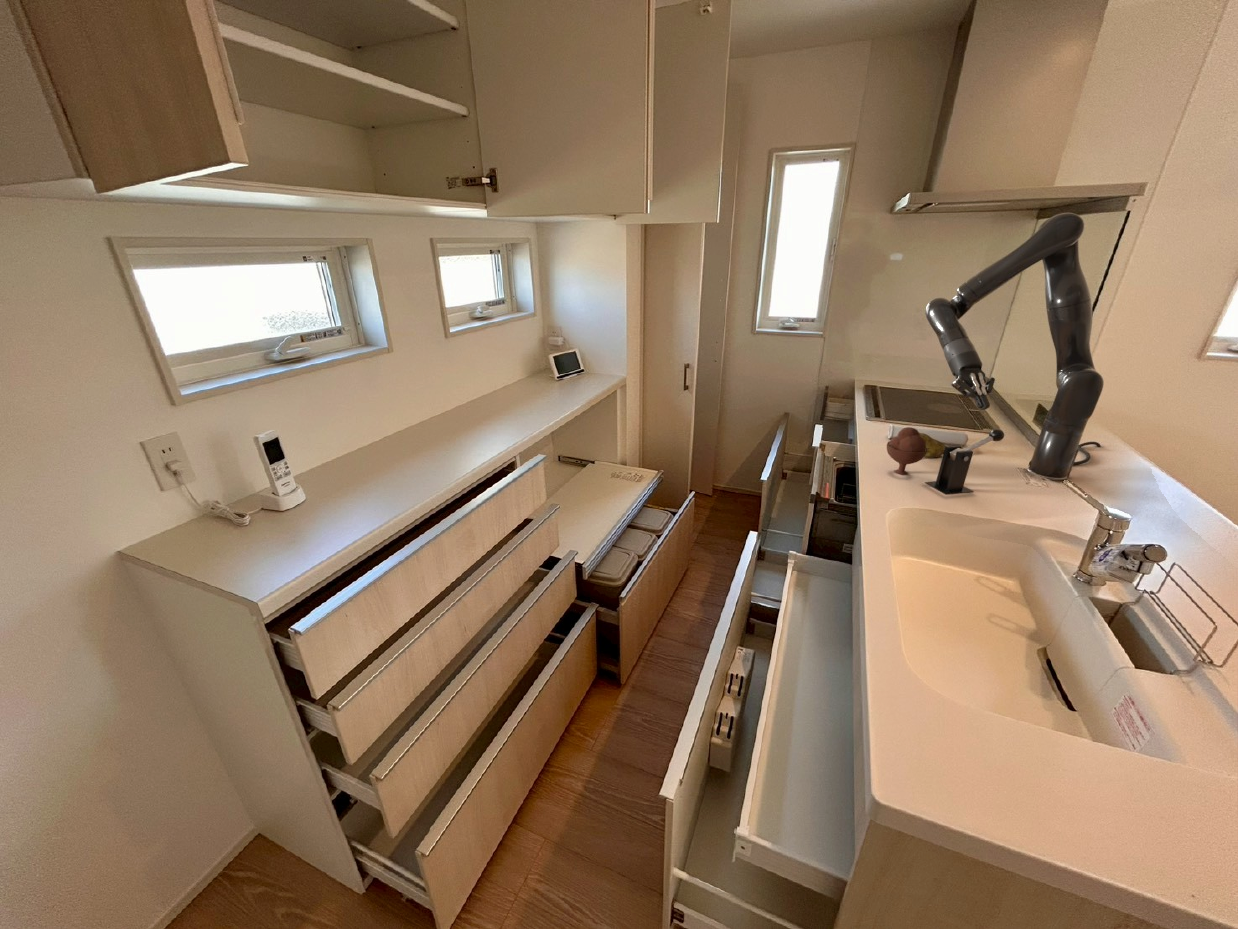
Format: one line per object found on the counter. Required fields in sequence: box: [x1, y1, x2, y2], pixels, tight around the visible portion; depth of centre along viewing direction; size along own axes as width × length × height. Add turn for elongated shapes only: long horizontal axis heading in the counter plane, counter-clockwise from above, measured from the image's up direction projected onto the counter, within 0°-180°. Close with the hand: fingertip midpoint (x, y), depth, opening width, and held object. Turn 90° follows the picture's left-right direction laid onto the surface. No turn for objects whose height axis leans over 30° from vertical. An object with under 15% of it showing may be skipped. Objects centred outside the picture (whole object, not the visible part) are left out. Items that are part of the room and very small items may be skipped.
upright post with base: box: [924, 445, 974, 496], centre depth 140 cm, size 9×8×13 cm
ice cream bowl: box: [886, 426, 928, 476], centre depth 150 cm, size 11×11×15 cm
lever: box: [950, 428, 1005, 460], centre depth 138 cm, size 15×3×3 cm, turn 100°
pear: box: [919, 432, 947, 459], centre depth 166 cm, size 8×13×8 cm, turn 72°
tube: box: [887, 424, 969, 447], centre depth 179 cm, size 5×5×25 cm
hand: (985, 408), depth 141 cm, fingers closed
